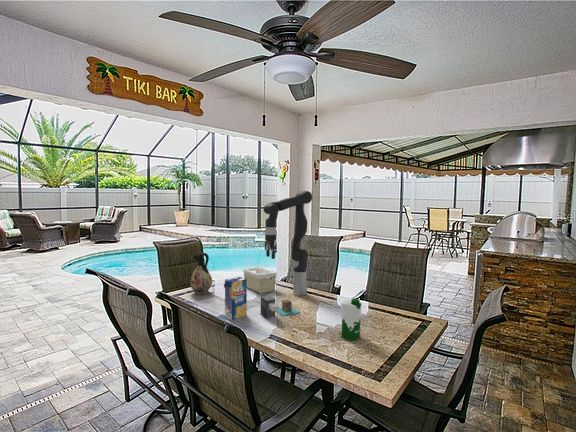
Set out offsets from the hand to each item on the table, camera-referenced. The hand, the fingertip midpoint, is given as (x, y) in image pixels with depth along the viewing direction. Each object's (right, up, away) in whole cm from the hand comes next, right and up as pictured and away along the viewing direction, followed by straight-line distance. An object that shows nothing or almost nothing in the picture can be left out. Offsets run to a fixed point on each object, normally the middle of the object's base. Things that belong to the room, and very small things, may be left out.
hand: (270, 257), depth 220 cm
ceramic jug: (-51, -28, +20) cm, 62 cm away
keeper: (0, -32, -23) cm, 39 cm away
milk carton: (+44, -34, -52) cm, 76 cm away
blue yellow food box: (-19, -32, -24) cm, 45 cm away
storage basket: (-10, -28, +32) cm, 44 cm away
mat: (+11, -31, -16) cm, 37 cm away
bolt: (+1, -25, -27) cm, 37 cm away
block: (+11, -31, -16) cm, 36 cm away
